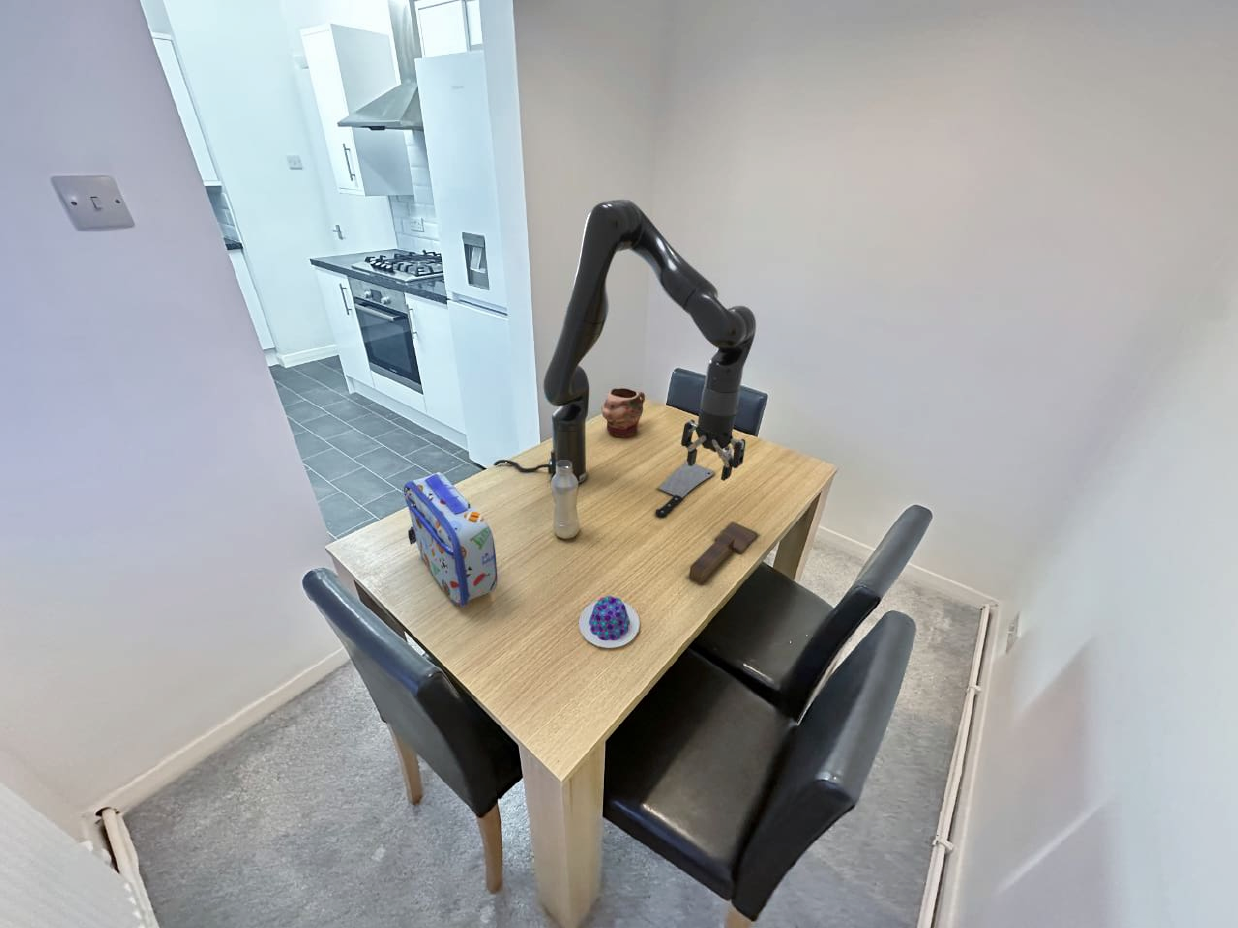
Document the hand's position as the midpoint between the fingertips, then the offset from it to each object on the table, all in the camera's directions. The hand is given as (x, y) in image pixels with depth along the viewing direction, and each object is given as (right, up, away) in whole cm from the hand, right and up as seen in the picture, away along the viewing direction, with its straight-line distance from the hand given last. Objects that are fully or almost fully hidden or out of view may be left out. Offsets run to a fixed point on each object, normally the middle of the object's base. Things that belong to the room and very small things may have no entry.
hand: (707, 471), depth 110 cm
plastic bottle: (-33, -16, +11) cm, 38 cm away
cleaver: (-4, -5, +29) cm, 30 cm away
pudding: (-22, -30, -13) cm, 40 cm away
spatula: (+4, -20, +6) cm, 21 cm away
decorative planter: (-18, +14, +59) cm, 64 cm away
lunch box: (-56, -22, -2) cm, 61 cm away
